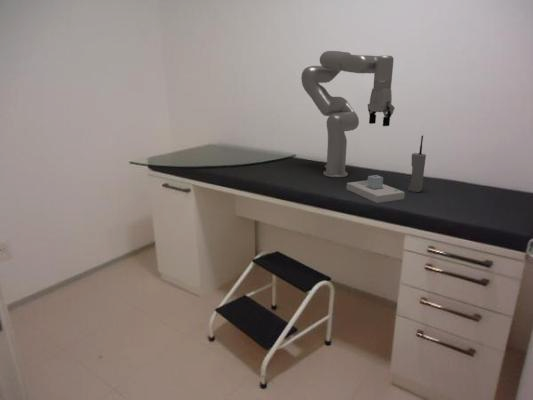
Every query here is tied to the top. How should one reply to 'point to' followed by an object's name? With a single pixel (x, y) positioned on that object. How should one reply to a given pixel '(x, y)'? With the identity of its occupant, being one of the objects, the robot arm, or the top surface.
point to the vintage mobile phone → (417, 170)
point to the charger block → (375, 182)
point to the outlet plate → (375, 192)
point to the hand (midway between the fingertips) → (378, 124)
